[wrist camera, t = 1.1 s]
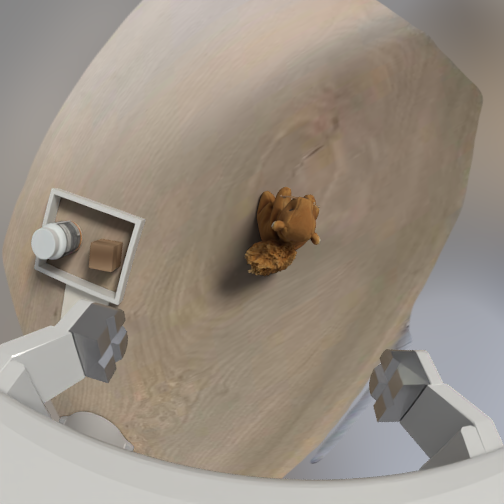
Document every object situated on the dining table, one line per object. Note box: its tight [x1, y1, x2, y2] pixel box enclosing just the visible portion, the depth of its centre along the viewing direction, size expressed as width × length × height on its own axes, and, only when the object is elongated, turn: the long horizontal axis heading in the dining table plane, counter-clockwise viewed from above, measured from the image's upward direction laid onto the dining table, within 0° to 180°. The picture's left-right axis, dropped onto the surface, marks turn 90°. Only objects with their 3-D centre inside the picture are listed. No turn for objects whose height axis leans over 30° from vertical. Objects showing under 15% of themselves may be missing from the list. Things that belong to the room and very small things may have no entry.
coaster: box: [61, 284, 110, 319], centre depth 48 cm, size 9×9×1 cm
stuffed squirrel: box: [244, 187, 320, 276], centre depth 44 cm, size 10×14×13 cm
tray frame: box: [34, 188, 146, 305], centre depth 45 cm, size 15×18×3 cm
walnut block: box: [89, 239, 123, 272], centre depth 45 cm, size 4×4×5 cm
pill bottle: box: [31, 221, 82, 260], centre depth 41 cm, size 6×6×10 cm
